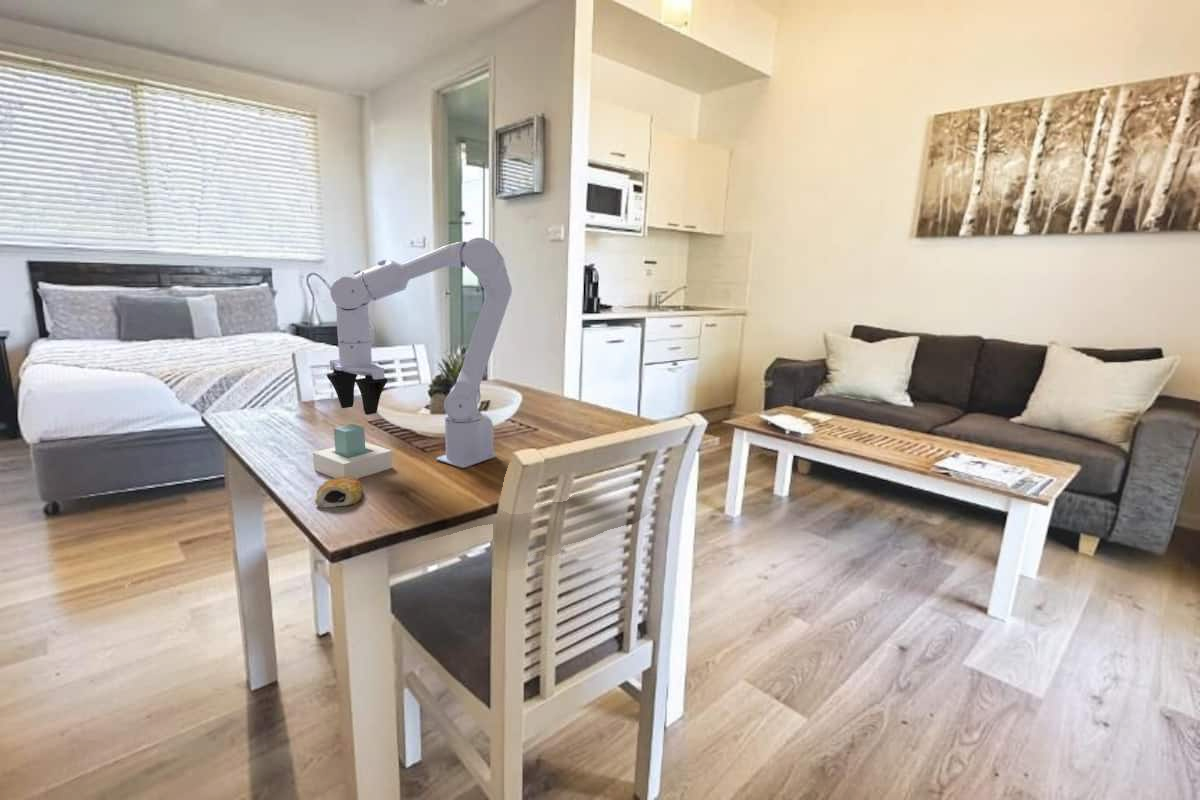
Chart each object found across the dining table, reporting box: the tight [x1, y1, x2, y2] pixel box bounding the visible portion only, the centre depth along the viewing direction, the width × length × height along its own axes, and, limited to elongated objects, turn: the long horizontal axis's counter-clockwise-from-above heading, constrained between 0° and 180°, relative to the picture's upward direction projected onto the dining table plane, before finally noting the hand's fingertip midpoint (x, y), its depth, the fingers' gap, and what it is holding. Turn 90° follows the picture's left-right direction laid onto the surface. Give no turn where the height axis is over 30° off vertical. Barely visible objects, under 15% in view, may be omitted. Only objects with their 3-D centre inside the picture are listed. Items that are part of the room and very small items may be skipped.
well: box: [312, 441, 394, 480], centre depth 109 cm, size 10×10×4 cm
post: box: [333, 423, 366, 458], centre depth 108 cm, size 4×4×8 cm
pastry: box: [314, 476, 364, 508], centre depth 96 cm, size 9×7×4 cm
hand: (358, 410), depth 112 cm, fingers open, 7 cm apart
